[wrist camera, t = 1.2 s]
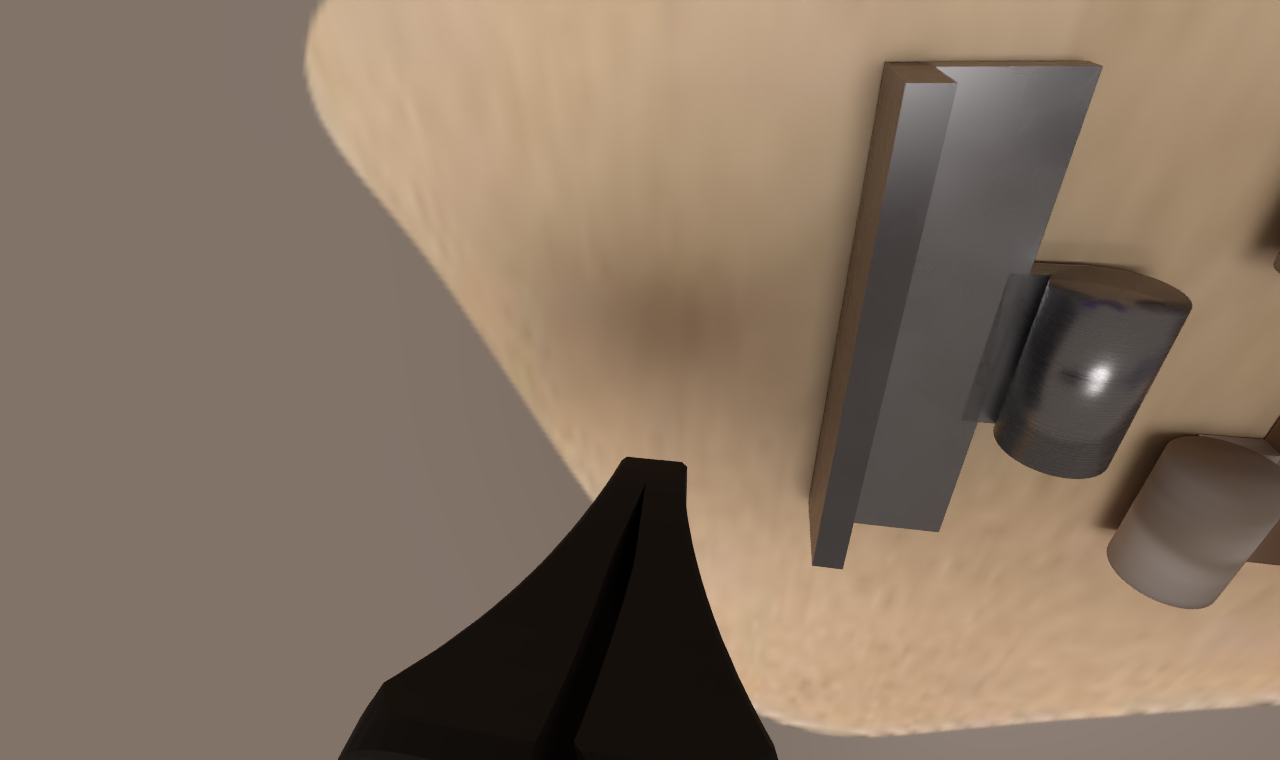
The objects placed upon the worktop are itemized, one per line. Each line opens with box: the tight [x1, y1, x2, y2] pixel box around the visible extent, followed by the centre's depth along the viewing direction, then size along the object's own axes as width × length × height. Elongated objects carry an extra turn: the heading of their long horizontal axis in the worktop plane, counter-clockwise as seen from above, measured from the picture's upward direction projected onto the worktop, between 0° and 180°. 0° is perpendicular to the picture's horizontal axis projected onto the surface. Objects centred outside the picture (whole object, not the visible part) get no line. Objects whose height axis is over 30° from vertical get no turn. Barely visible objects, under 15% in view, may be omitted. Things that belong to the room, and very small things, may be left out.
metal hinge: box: [808, 61, 1192, 569], centre depth 17 cm, size 8×15×3 cm, turn 1°
